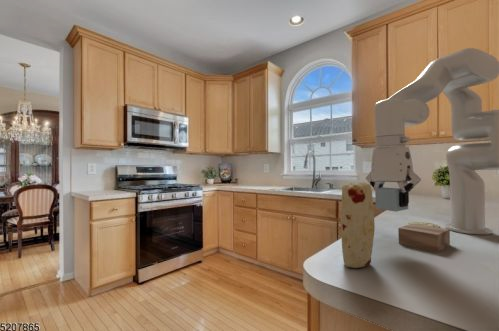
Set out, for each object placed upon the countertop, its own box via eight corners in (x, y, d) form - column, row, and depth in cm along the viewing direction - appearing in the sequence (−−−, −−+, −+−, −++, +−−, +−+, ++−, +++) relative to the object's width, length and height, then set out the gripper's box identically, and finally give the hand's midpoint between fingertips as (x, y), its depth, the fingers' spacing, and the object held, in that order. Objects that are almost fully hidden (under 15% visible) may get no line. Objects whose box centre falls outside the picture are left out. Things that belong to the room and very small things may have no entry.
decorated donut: (451, 237, 82) (451, 226, 82) (424, 239, 80) (423, 228, 80) (423, 229, 92) (423, 219, 92) (399, 231, 90) (398, 221, 90)
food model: (360, 275, 54) (359, 183, 54) (333, 265, 59) (332, 181, 59) (381, 264, 60) (380, 181, 60) (354, 256, 65) (354, 180, 65)
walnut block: (412, 238, 82) (412, 223, 82) (449, 246, 74) (449, 229, 74) (398, 244, 76) (398, 228, 76) (437, 253, 68) (437, 234, 68)
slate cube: (387, 206, 76) (387, 186, 76) (408, 209, 71) (407, 188, 71) (375, 208, 73) (375, 188, 73) (396, 211, 68) (395, 189, 68)
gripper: (429, 140, 66) (432, 207, 66) (370, 145, 81) (372, 200, 81) (414, 139, 62) (417, 210, 62) (355, 145, 77) (357, 202, 77)
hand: (391, 204), depth 72 cm, fingers closed on slate cube, 6 cm apart
